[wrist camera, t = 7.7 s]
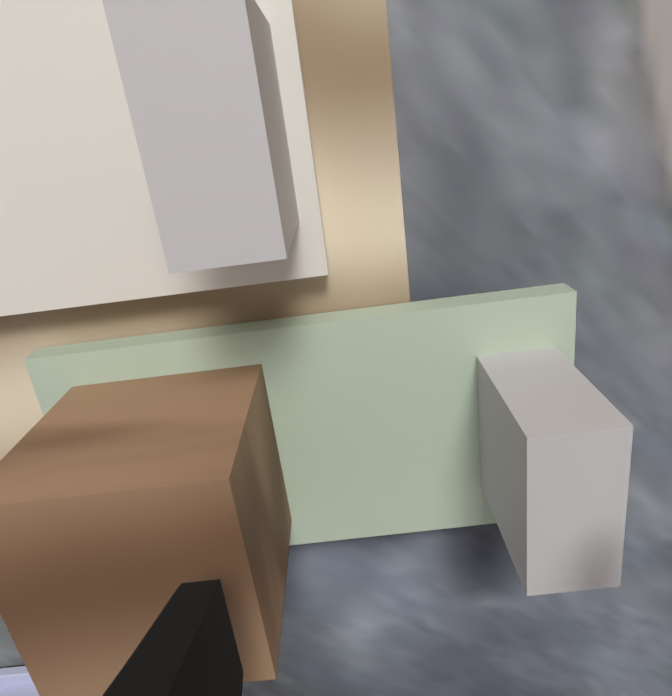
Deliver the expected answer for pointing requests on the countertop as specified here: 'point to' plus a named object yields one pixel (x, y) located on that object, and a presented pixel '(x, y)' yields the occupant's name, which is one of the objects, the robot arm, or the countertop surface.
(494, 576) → the countertop surface
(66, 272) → the white strip
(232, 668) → the robot arm
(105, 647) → the walnut block
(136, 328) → the base
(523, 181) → the countertop surface
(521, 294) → the green strip
